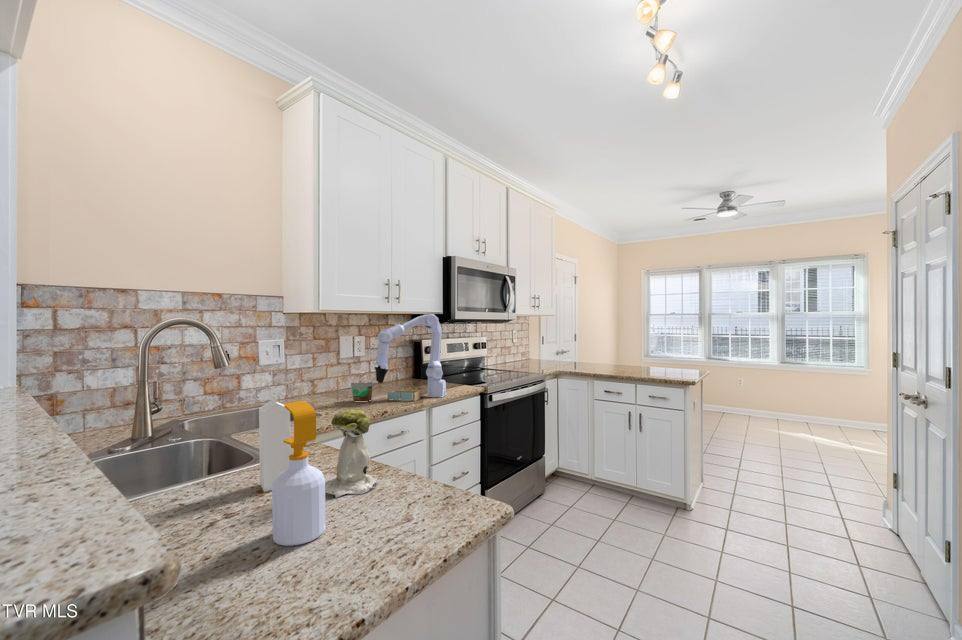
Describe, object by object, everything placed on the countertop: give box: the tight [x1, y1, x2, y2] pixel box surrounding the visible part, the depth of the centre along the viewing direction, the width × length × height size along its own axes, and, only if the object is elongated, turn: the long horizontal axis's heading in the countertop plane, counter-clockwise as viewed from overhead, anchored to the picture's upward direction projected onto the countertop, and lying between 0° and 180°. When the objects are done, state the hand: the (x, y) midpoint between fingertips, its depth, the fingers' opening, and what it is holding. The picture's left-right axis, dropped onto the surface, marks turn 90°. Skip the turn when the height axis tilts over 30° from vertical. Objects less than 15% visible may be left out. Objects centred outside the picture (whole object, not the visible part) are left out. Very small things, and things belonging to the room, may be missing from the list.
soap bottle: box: [271, 400, 327, 547], centre depth 77 cm, size 9×9×25 cm
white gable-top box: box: [258, 394, 292, 493], centre depth 101 cm, size 6×6×22 cm
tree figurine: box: [325, 409, 379, 499], centre depth 99 cm, size 12×13×18 cm
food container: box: [350, 380, 374, 401], centre depth 207 cm, size 12×6×10 cm, turn 73°
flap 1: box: [387, 391, 400, 400], centre depth 208 cm, size 6×1×3 cm, turn 78°
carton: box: [387, 389, 421, 402], centre depth 212 cm, size 15×8×4 cm, turn 78°
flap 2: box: [401, 393, 413, 400], centre depth 206 cm, size 6×1×3 cm, turn 78°
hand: (379, 381), depth 206 cm, fingers open, 7 cm apart
